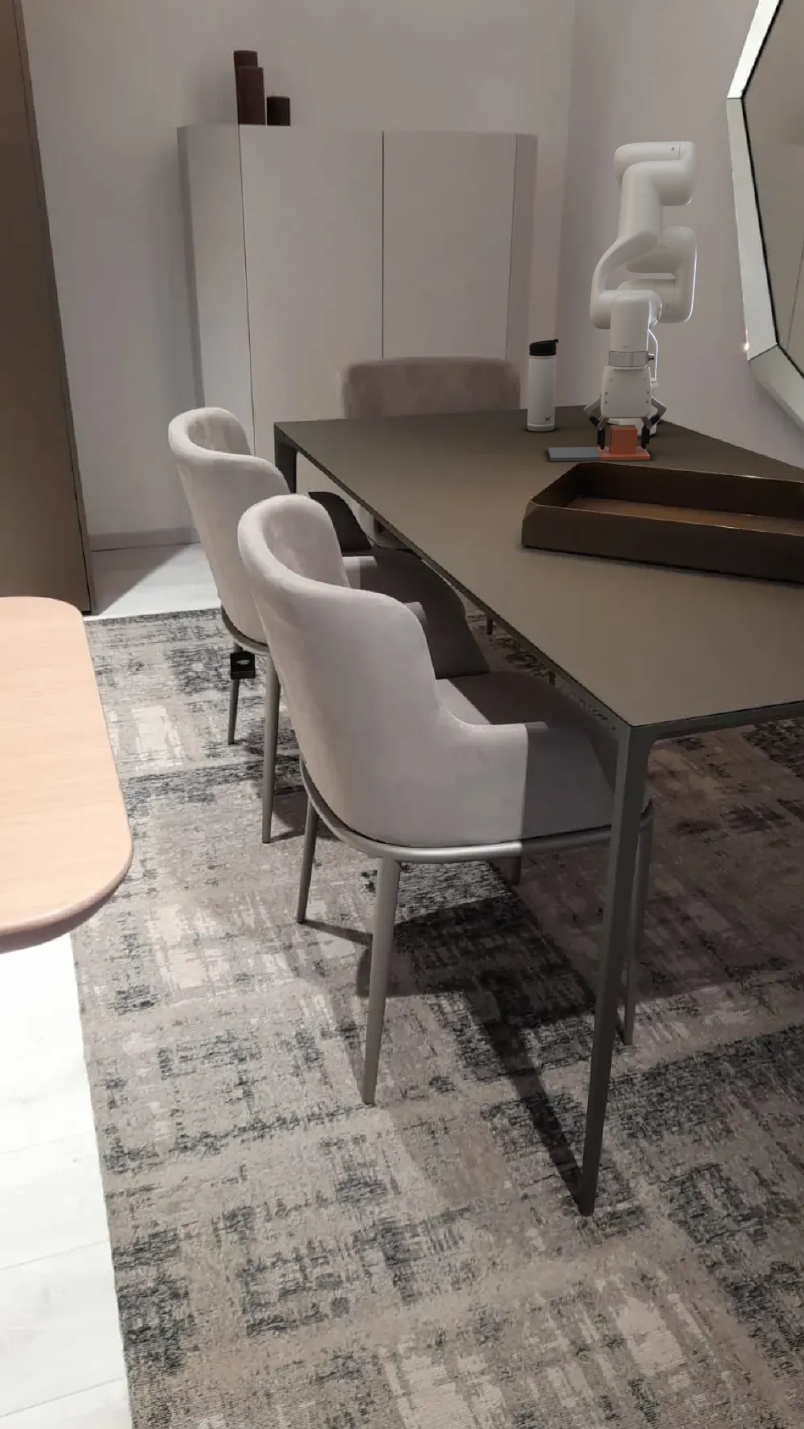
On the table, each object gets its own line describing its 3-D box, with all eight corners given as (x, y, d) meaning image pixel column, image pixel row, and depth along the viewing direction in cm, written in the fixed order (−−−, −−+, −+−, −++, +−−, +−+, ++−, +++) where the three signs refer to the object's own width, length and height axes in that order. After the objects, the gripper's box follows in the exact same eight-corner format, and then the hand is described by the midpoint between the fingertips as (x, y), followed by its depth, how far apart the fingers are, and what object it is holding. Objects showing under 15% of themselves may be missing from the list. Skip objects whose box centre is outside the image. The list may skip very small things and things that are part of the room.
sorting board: (547, 451, 234) (548, 447, 233) (643, 450, 232) (643, 446, 232) (550, 461, 225) (551, 457, 224) (650, 460, 223) (650, 456, 223)
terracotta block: (608, 449, 230) (610, 425, 228) (633, 448, 230) (634, 424, 228) (611, 454, 226) (612, 429, 224) (636, 453, 225) (637, 429, 223)
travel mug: (554, 432, 253) (557, 340, 245) (525, 431, 254) (527, 341, 246) (556, 427, 259) (559, 337, 250) (528, 426, 260) (530, 337, 251)
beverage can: (644, 430, 252) (647, 375, 247) (662, 436, 245) (666, 380, 240) (612, 432, 250) (615, 378, 245) (629, 439, 243) (633, 383, 238)
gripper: (668, 356, 223) (662, 444, 231) (582, 358, 224) (578, 445, 232) (674, 361, 216) (668, 451, 224) (585, 363, 217) (581, 452, 225)
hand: (622, 447), depth 228 cm, fingers open, 8 cm apart
